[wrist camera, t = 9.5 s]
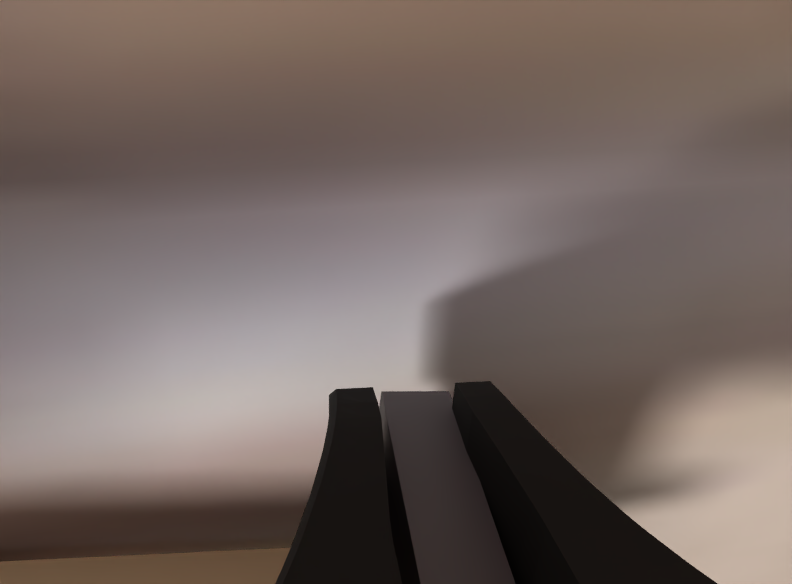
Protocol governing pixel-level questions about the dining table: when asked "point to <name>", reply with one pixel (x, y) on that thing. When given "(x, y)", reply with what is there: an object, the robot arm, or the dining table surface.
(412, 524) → the front flap
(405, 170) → the dining table surface
